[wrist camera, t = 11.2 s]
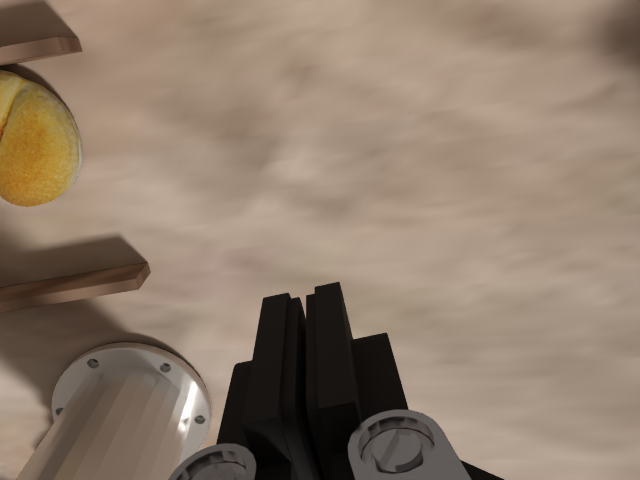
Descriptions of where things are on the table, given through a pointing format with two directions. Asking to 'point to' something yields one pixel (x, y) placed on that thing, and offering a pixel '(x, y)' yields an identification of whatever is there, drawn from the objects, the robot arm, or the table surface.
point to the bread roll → (35, 143)
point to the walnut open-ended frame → (74, 284)
